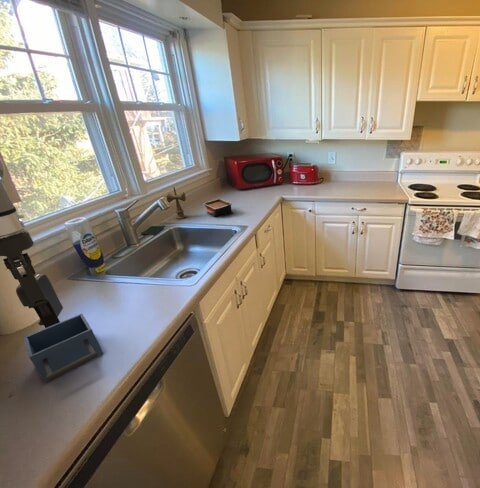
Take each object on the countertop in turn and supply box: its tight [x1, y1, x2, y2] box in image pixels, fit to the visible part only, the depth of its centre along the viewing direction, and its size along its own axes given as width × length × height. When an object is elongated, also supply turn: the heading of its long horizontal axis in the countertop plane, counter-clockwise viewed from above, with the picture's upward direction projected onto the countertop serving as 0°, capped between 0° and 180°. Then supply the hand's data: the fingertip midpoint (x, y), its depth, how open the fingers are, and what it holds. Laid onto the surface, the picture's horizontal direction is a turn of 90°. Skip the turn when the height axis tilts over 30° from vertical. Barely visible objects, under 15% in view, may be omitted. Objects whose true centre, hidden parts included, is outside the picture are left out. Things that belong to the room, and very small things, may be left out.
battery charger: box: [15, 273, 64, 326], centre depth 68 cm, size 7×4×11 cm, turn 23°
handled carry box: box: [23, 313, 104, 384], centre depth 72 cm, size 18×12×9 cm, turn 50°
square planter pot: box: [202, 198, 233, 218], centre depth 180 cm, size 14×18×10 cm
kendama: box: [165, 186, 187, 220], centre depth 170 cm, size 6×10×20 cm, turn 100°
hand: (49, 317), depth 70 cm, fingers closed on battery charger, 7 cm apart
